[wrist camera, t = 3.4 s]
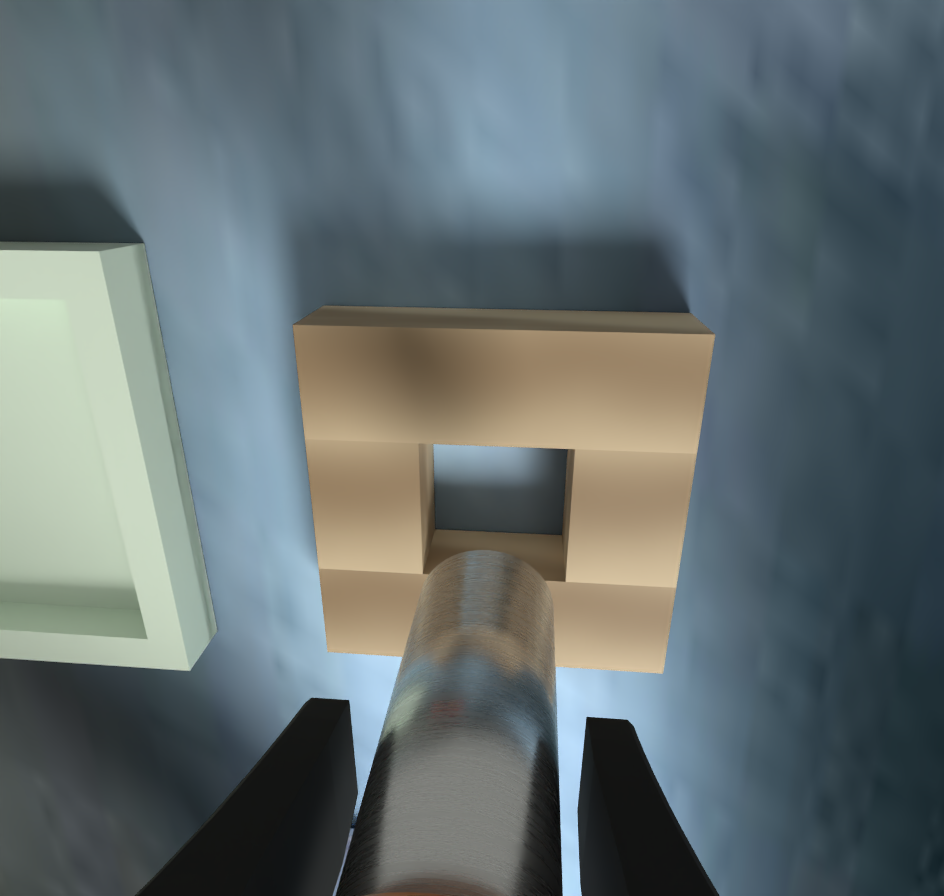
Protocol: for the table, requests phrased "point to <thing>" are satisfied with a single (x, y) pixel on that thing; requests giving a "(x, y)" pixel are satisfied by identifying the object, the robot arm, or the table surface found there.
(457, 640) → the pin
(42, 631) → the tray
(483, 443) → the socket block
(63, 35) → the table surface
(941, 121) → the table surface
